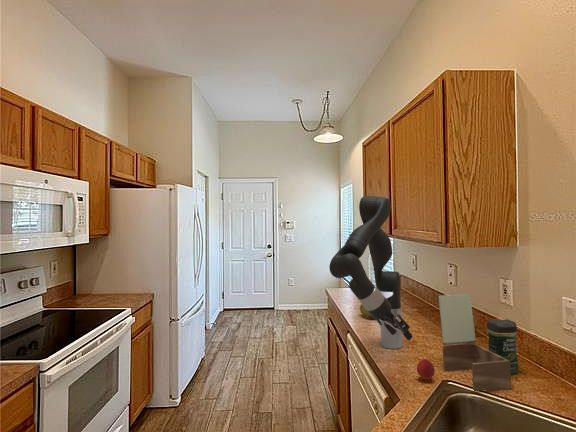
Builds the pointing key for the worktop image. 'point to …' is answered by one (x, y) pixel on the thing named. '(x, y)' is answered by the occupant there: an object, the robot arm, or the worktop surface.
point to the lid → (456, 319)
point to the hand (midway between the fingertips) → (402, 335)
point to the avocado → (365, 312)
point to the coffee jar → (503, 341)
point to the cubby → (479, 366)
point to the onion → (425, 369)
